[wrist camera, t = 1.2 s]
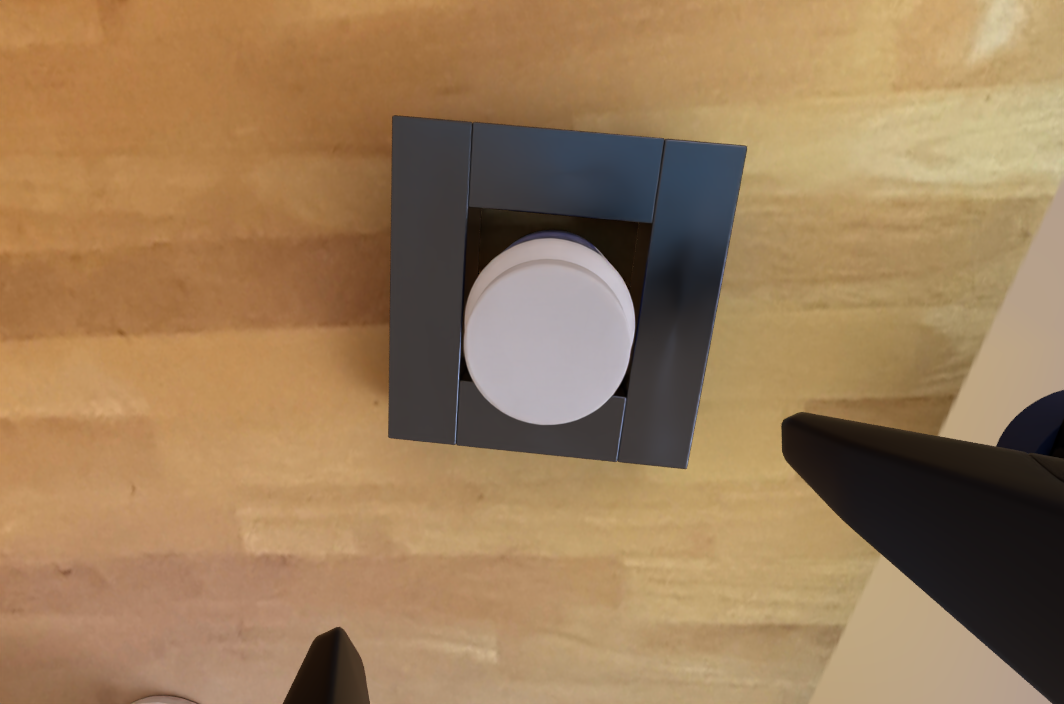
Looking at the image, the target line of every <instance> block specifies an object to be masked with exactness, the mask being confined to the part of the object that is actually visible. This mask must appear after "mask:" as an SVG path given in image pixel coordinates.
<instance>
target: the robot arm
mask: <svg viewBox="0 0 1064 704" xmlns="http://www.w3.org/2000/svg"><path fill="white" fill-rule="evenodd" d="M781 428H782V453H783V456H784V458H785V460H786V461H787V462H788V464H789V465H790V466H791V467H792V468H793V469H794V470H795V471H796V472H797V473H798V474H799V475H800V476H801V477H802V478H803V479H804V480H805V482H806V483H807V484H808V485H809V486H810V487H811V488H812V489H813V490H814V491H815V492H816V493H817V494H818V495H819V496H820V497H821V498H822V499H823V500H824V501H825V502H826V504H827V505H828V506H829V507H830V508H831V509H832V510H833V511H834V512H835V513H836V514H837V515H838V516H839V517H840V518H841V519H842V520H843V521H844V522H845V523H847V524H848V525H849V526H850V527H851V528H852V529H853V530H854V531H855V532H857V533H858V534H859V535H860V536H861V537H862V538H863V539H865V540H866V541H867V542H868V543H869V544H870V545H871V546H873V547H874V548H875V549H876V550H877V551H878V552H879V553H881V554H882V555H883V556H884V557H885V558H886V559H887V560H889V561H890V562H891V563H892V564H893V565H894V566H895V567H897V568H898V569H899V570H900V571H901V572H902V573H904V574H905V575H906V576H907V577H908V578H909V579H910V580H912V581H913V582H914V583H915V584H916V585H917V586H918V587H920V588H921V589H922V590H923V591H924V592H925V593H927V594H928V595H929V596H930V597H931V598H932V599H933V600H935V601H936V602H937V603H938V604H939V605H940V606H941V607H943V608H944V609H945V610H946V611H947V612H948V613H949V614H951V615H952V616H953V617H954V618H955V619H956V620H957V621H959V622H960V623H961V624H962V625H963V626H964V627H966V628H967V629H968V630H969V631H970V632H971V633H972V634H974V635H975V636H976V637H977V638H978V639H979V640H980V641H981V642H983V643H984V644H985V645H986V646H988V648H989V649H991V650H992V651H993V652H994V653H995V654H997V655H998V656H999V657H1000V658H1001V659H1002V660H1003V661H1004V662H1005V663H1007V664H1008V665H1009V666H1010V667H1011V668H1013V669H1014V670H1015V671H1016V672H1017V673H1018V674H1019V675H1021V676H1022V677H1023V678H1024V679H1025V680H1026V681H1027V682H1028V683H1030V684H1031V685H1032V686H1033V687H1034V688H1035V689H1036V690H1038V691H1039V692H1040V693H1041V694H1042V695H1043V696H1045V697H1046V698H1047V699H1048V700H1049V701H1050V702H1051V703H1052V704H1064V419H1063V421H1062V424H1061V426H1060V429H1059V431H1058V434H1057V436H1056V439H1055V442H1054V444H1053V447H1052V449H1051V452H1050V454H1049V456H1045V455H1040V454H1035V453H1029V454H1027V453H1026V452H1023V451H1017V450H1012V449H1006V448H1001V447H994V446H989V445H984V444H978V443H973V442H967V441H961V440H956V439H950V438H945V437H939V436H934V435H928V434H922V433H917V432H911V431H906V430H900V429H895V428H889V427H883V426H878V425H872V424H867V423H861V422H855V421H850V420H844V419H839V418H833V417H828V416H822V415H816V414H811V413H805V412H800V413H796V414H794V415H792V416H790V417H788V418H786V419H784V420H783V422H782V426H781ZM283 704H370V701H369V695H368V689H367V683H366V676H365V670H364V666H363V662H362V659H361V657H360V655H359V653H358V652H357V650H356V648H355V647H354V645H353V644H352V642H351V640H350V639H349V637H348V635H347V634H346V632H345V631H344V630H343V629H342V628H341V627H336V628H334V629H332V630H330V631H327V632H325V633H323V634H321V635H319V636H317V637H316V638H315V639H314V641H313V642H312V644H311V646H310V648H309V651H308V653H307V655H306V657H305V659H304V661H303V663H302V665H301V667H300V669H299V671H298V673H297V675H296V677H295V679H294V682H293V684H292V686H291V688H290V690H289V692H288V694H287V696H286V698H285V700H284V702H283Z"/></svg>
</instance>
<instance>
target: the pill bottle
mask: <svg viewBox="0 0 1064 704" xmlns="http://www.w3.org/2000/svg"><path fill="white" fill-rule="evenodd" d="M464 323H465V334H464V354H465V359H466V364H467V368H468V370H469V373H470V376H471V378H472V380H473V381H474V383H475V385H476V387H477V388H478V390H479V391H480V392H481V394H482V395H483V396H484V397H485V398H486V399H487V400H488V401H489V402H490V403H491V404H492V405H493V406H495V407H496V408H497V409H499V410H500V411H502V412H503V413H505V414H507V415H509V416H510V417H513V418H515V419H517V420H520V421H524V422H527V423H532V424H539V425H556V424H563V423H568V422H572V421H575V420H578V419H580V418H582V417H585V416H587V415H589V414H591V413H592V412H594V411H595V410H597V409H598V408H600V407H601V406H602V405H603V404H604V403H605V402H606V401H607V400H608V399H609V398H610V397H611V396H612V395H613V394H614V392H615V391H616V390H617V388H618V387H619V385H620V383H621V381H622V379H623V377H624V375H625V373H626V370H627V366H628V363H629V359H630V351H631V347H632V343H633V339H634V332H635V314H634V307H633V303H632V299H631V296H630V293H629V291H628V288H627V286H626V284H625V282H624V281H623V279H622V277H621V276H620V274H619V273H618V271H617V270H616V269H615V268H614V267H613V266H612V265H611V264H610V263H609V262H608V260H607V259H606V258H605V257H604V255H603V254H602V253H601V252H600V251H599V250H598V249H597V248H596V247H595V246H594V245H593V244H592V243H591V242H589V241H588V240H586V239H585V238H583V237H581V236H579V235H577V234H574V233H571V232H568V231H563V230H542V231H537V232H533V233H530V234H528V235H525V236H523V237H521V238H520V239H518V240H517V241H515V242H514V243H512V244H511V245H510V246H509V247H508V248H506V249H505V250H504V251H503V252H501V253H500V254H499V255H497V256H496V257H495V258H494V259H493V260H492V261H491V262H490V263H489V264H488V265H487V266H486V267H485V268H484V269H483V270H482V271H481V273H480V275H479V276H478V278H477V279H476V281H475V283H474V285H473V287H472V289H471V291H470V294H469V297H468V300H467V304H466V309H465V321H464Z"/></svg>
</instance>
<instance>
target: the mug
mask: <svg viewBox="0 0 1064 704" xmlns="http://www.w3.org/2000/svg"><path fill="white" fill-rule="evenodd" d="M131 704H197V703H194V702H191V701H188V700H186V699H183V698H178V697H172V696H150V697H147V698H144V699H141V700H137V701H135V702H133V703H131Z"/></svg>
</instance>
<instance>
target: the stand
mask: <svg viewBox="0 0 1064 704" xmlns="http://www.w3.org/2000/svg"><path fill="white" fill-rule="evenodd" d="M746 152H747V146H745V145H733V144H722V143H710V142H699V141H687V140H675V139H665V140H664V138H654V137H642V136H631V135H619V134H608V133H596V132H585V131H573V130H561V129H550V128H538V127H527V126H515V125H503V124H492V123H480V122H473V123H472V122H467V121H455V120H444V119H432V118H421V117H409V116H397V115H394V116H393V117H392V184H391V263H390V342H389V421H388V437H389V438H394V439H403V440H413V441H422V442H432V443H441V444H451V445H455V444H457V445H459V446H469V447H478V448H488V449H497V450H507V451H516V452H526V453H535V454H545V455H555V456H564V457H574V458H583V459H593V460H602V461H612V462H617V460H618V462H623V463H633V464H642V465H652V466H661V467H671V468H680V469H687V466H688V461H689V455H690V450H691V445H692V439H693V434H694V429H695V423H696V418H697V413H698V407H699V402H700V397H701V392H702V386H703V381H704V376H705V370H706V365H707V360H708V354H709V349H710V344H711V338H712V333H713V328H714V322H715V317H716V312H717V307H718V301H719V296H720V291H721V285H722V280H723V275H724V269H725V264H726V259H727V253H728V248H729V243H730V237H731V232H732V227H733V222H734V216H735V211H736V206H737V200H738V195H739V190H740V184H741V179H742V174H743V168H744V163H745V158H746ZM482 208H487V209H498V210H509V211H520V212H531V213H542V214H553V215H564V216H575V217H586V218H597V219H608V220H619V221H630V222H639V225H638V232H637V239H636V246H635V254H634V261H633V268H632V275H631V282H630V289H629V293H630V296H631V299H632V303H633V307H634V314H635V332H634V339H633V343H632V347H631V351H630V359H629V363H628V366H627V370H626V373H625V375H624V377H623V379H622V381H621V383H620V385H619V387H618V388H617V390H616V391H615V392H614V394H613V395H612V396H611V397H610V398H609V399H608V400H607V401H606V402H605V403H604V404H603V405H602V406H601V407H600V408H598V409H597V410H595V411H594V412H592V413H591V414H589V415H587V416H585V417H582V418H580V419H578V420H575V421H572V422H568V423H563V424H556V425H539V424H532V423H527V422H524V421H520V420H517V419H515V418H513V417H510V416H509V415H507V414H505V413H503V412H502V411H500V410H499V409H497V408H496V407H495V406H493V405H492V404H491V403H490V402H489V401H488V400H487V399H486V398H485V397H484V396H483V395H482V394H481V392H480V391H479V390H478V388H477V387H476V385H475V383H474V381H473V380H472V378H471V376H470V373H469V370H468V368H467V364H466V359H465V354H464V334H465V323H464V321H465V309H466V304H467V300H468V297H469V294H470V291H471V289H472V287H473V285H474V283H475V281H476V279H477V278H478V262H479V245H480V228H481V211H482Z"/></svg>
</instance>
